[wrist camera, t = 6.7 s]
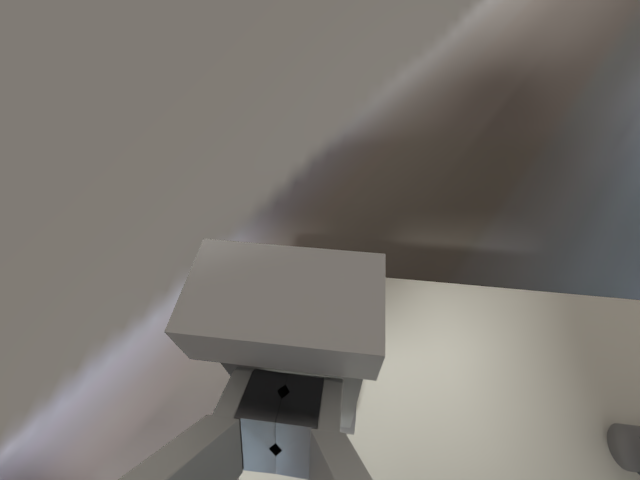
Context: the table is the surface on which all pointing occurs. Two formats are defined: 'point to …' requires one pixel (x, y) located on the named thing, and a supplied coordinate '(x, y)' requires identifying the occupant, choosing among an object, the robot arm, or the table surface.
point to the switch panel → (497, 385)
